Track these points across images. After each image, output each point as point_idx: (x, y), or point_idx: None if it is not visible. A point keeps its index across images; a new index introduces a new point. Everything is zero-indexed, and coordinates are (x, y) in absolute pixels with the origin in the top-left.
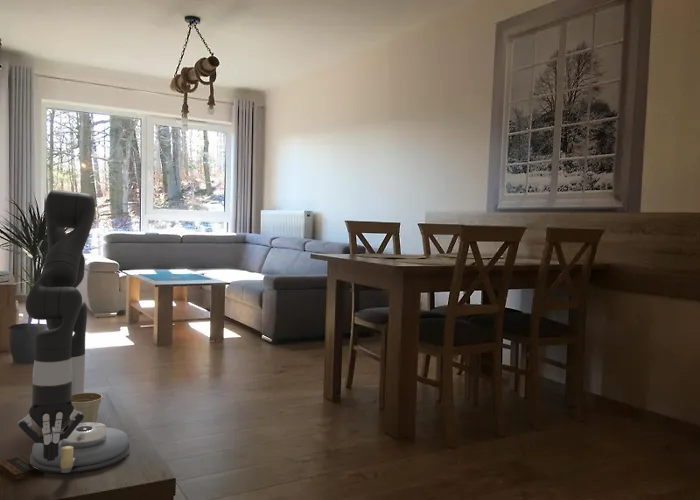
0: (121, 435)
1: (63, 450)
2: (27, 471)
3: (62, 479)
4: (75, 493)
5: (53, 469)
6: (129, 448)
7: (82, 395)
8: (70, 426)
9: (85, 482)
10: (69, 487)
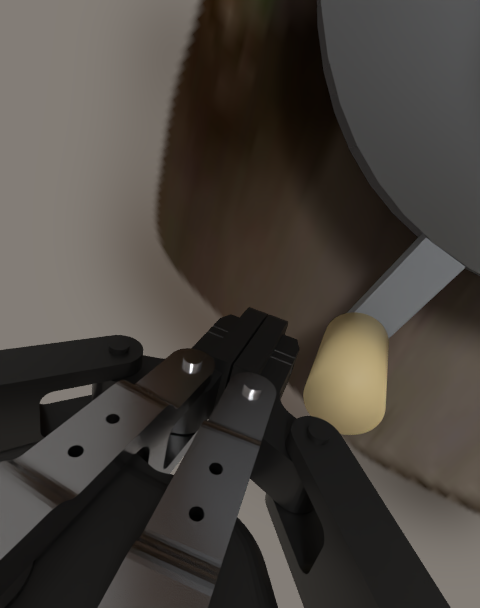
0: None
1: (309, 410)
2: (281, 30)
3: (363, 270)
4: None
5: (364, 173)
6: None
7: None
8: (309, 604)
9: (419, 373)
10: None
